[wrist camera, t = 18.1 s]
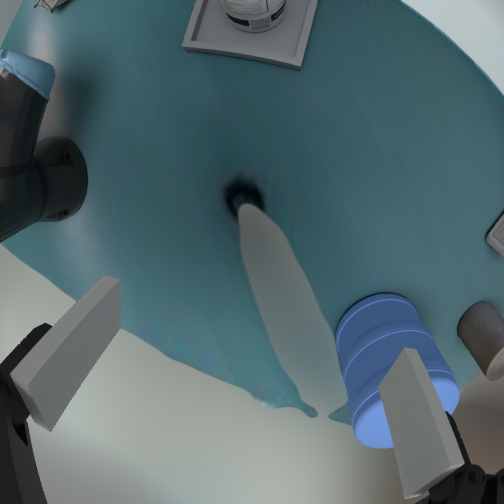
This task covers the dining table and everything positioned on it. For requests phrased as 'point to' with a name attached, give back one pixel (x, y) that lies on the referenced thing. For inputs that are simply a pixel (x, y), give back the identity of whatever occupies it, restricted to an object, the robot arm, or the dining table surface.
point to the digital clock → (497, 236)
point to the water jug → (385, 361)
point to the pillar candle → (484, 338)
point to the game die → (49, 4)
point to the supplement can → (253, 13)
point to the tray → (251, 35)
